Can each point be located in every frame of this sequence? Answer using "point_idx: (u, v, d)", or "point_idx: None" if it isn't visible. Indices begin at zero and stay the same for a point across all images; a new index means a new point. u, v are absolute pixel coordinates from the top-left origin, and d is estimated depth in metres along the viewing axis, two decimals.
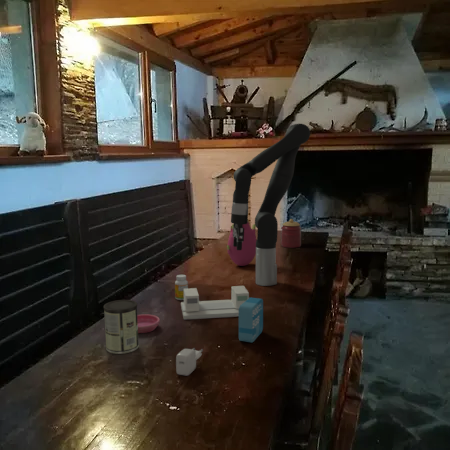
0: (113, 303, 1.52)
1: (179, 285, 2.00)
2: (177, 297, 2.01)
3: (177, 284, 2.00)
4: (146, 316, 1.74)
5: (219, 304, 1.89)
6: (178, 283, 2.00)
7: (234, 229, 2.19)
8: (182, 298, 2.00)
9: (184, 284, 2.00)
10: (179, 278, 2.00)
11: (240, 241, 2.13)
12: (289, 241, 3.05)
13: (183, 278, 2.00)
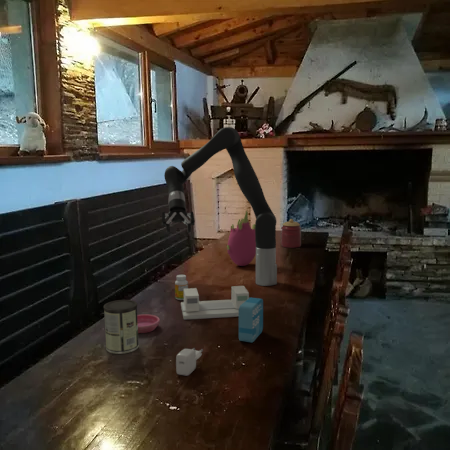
0: (113, 303, 1.52)
1: (179, 285, 2.00)
2: (177, 297, 2.01)
3: (177, 284, 2.00)
4: (146, 316, 1.74)
5: (219, 304, 1.89)
6: (178, 283, 2.00)
7: None
8: (182, 298, 2.00)
9: (184, 284, 2.00)
10: (179, 278, 2.00)
11: (164, 224, 2.11)
12: (289, 241, 3.05)
13: (183, 278, 2.00)
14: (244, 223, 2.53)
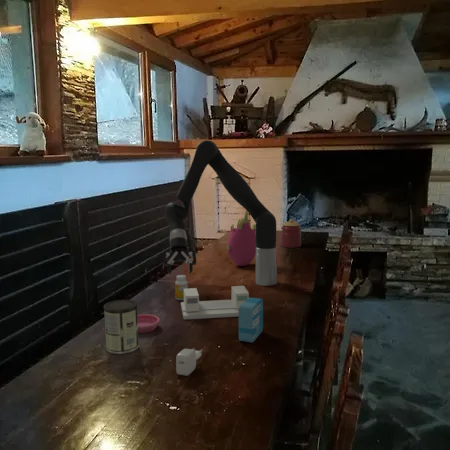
0: (113, 303, 1.52)
1: (179, 285, 2.00)
2: (177, 297, 2.01)
3: (177, 284, 2.00)
4: (146, 316, 1.74)
5: (219, 304, 1.89)
6: (178, 283, 2.00)
7: None
8: (182, 298, 2.00)
9: (184, 284, 2.00)
10: (179, 278, 2.00)
11: (165, 264, 2.06)
12: (289, 241, 3.05)
13: (183, 278, 2.00)
14: (244, 223, 2.53)
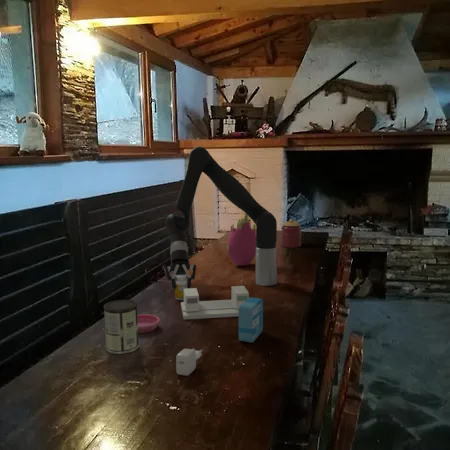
0: (113, 303, 1.52)
1: (179, 285, 1.99)
2: (177, 297, 2.01)
3: (177, 284, 2.00)
4: (146, 316, 1.74)
5: (219, 304, 1.89)
6: (178, 283, 2.00)
7: None
8: (182, 298, 2.00)
9: (184, 284, 2.00)
10: (179, 278, 2.00)
11: (169, 279, 2.02)
12: (289, 241, 3.05)
13: (183, 278, 2.00)
14: (244, 223, 2.53)
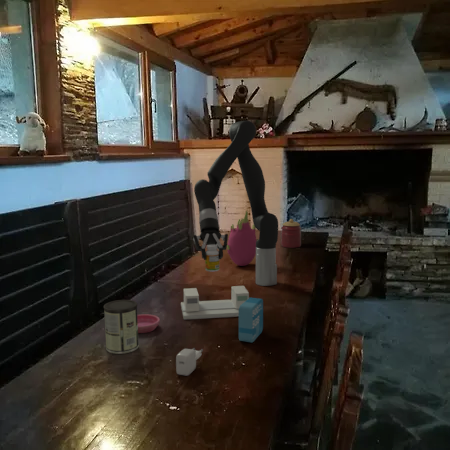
0: (113, 303, 1.52)
1: (210, 255, 1.83)
2: (208, 268, 1.84)
3: (208, 254, 1.83)
4: (146, 316, 1.74)
5: (219, 304, 1.89)
6: (209, 253, 1.83)
7: None
8: (213, 269, 1.83)
9: (215, 254, 1.83)
10: (210, 248, 1.83)
11: (199, 249, 1.85)
12: (289, 241, 3.05)
13: (214, 248, 1.83)
14: (244, 223, 2.53)
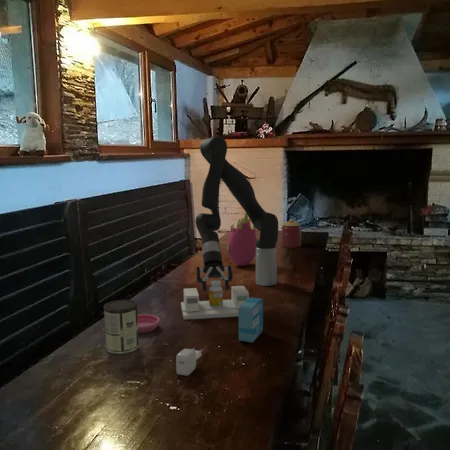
0: (113, 303, 1.52)
1: (214, 291, 1.84)
2: (211, 304, 1.85)
3: (212, 290, 1.84)
4: (146, 316, 1.74)
5: None
6: (213, 289, 1.84)
7: None
8: (217, 305, 1.85)
9: (219, 290, 1.84)
10: (214, 284, 1.84)
11: (199, 281, 1.86)
12: (289, 241, 3.05)
13: (218, 284, 1.84)
14: (244, 223, 2.53)
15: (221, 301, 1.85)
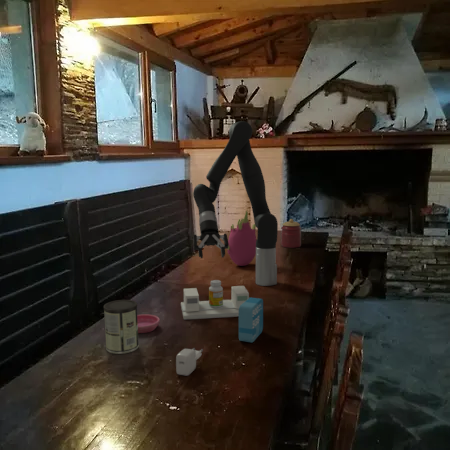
0: (113, 303, 1.52)
1: (214, 291, 1.84)
2: (211, 304, 1.85)
3: (212, 290, 1.84)
4: (146, 316, 1.74)
5: None
6: (213, 289, 1.84)
7: None
8: (217, 305, 1.85)
9: (219, 290, 1.84)
10: (214, 284, 1.84)
11: (196, 248, 1.95)
12: (289, 241, 3.05)
13: (218, 284, 1.84)
14: (244, 223, 2.53)
15: (221, 301, 1.85)
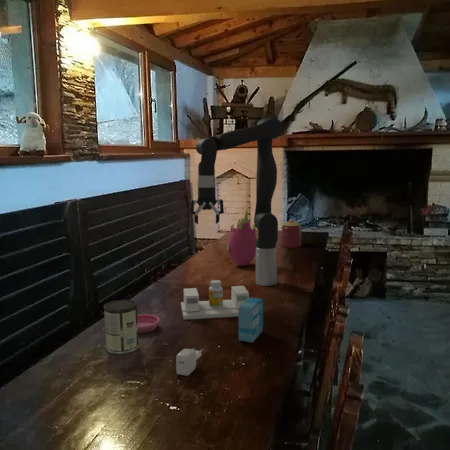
0: (113, 303, 1.52)
1: (214, 291, 1.84)
2: (211, 304, 1.85)
3: (212, 290, 1.84)
4: (146, 316, 1.74)
5: None
6: (213, 289, 1.84)
7: None
8: (217, 305, 1.85)
9: (219, 290, 1.84)
10: (214, 284, 1.84)
11: None
12: (289, 241, 3.05)
13: (218, 284, 1.84)
14: (244, 223, 2.53)
15: (221, 301, 1.85)
